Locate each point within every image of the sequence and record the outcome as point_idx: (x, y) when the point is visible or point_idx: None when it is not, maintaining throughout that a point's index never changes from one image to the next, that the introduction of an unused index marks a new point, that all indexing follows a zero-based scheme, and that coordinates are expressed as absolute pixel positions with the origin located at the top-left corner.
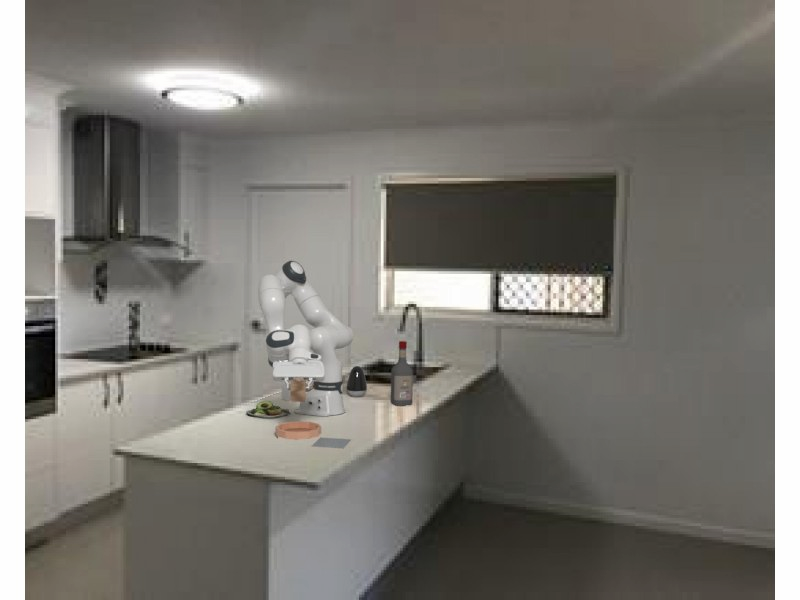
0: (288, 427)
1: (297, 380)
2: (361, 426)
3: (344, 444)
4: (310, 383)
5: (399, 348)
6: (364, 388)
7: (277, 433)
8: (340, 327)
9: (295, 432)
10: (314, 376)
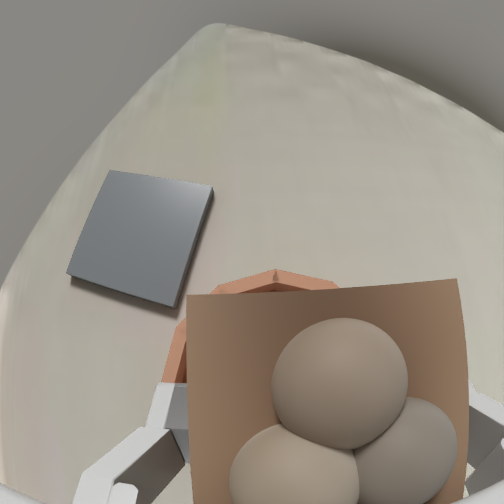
0: None
1: (357, 321)
2: (37, 481)
3: (97, 211)
4: (128, 444)
5: None
6: None
7: None
8: None
9: (284, 273)
10: (21, 497)
